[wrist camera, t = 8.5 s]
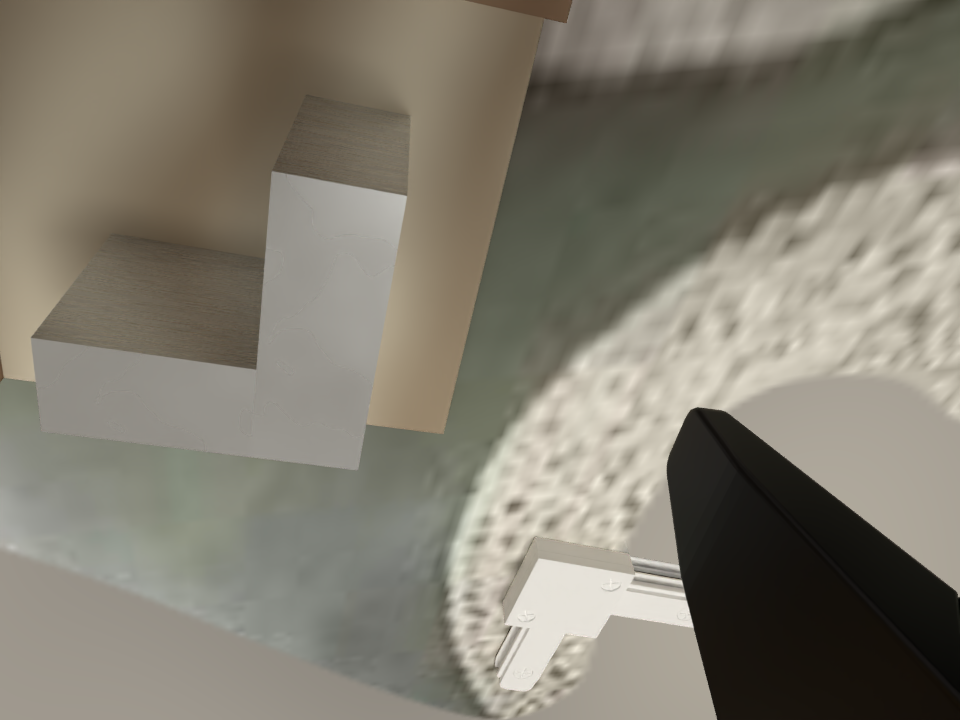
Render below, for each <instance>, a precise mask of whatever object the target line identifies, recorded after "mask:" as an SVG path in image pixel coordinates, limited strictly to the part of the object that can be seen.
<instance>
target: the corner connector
mask: <svg viewBox="0 0 960 720" xmlns="http://www.w3.org/2000/svg"><path fill="white" fill-rule="evenodd" d="M503 612H504V623H505V625H510V626H512V627H511V629H510V631H509V633H508V635H507V636H506V638H505V640H504V642H503V644H502V646H501V648H500V650H499V652H498V654H497V656H496V658H495V667H498V671H497V677H499V682H500V687H501V688H503V689H508V690H516V691H528V690H530V689H531V688H532V687H533V686H534V684H535V682H537V681H538V680H539V678H540V676H541V674H542V673H543V671H544V669H545V668H546V666H547V664H548V663H549V661H550V659H551V657H552V656H553V654H554V652H555V651H556V649H557V647H558V646H559V644H560V642H561V640H562V639H563V637H564V635H565V634H569V635H576V636H583V637H589V638H597V636H598V635H599V633H600V631H601V630H602V628H603V627H604V625H605V623H606V622H607V620H608V618H609V617H610V615H617V616H623V617H629V618H635V619H641V620H648V621H655V622H660V623H666V624H673V625H679V626H686V627H691V628H694V627H693V623H692V619H691V615H690V611H689V608H688V604H687V600H686V596H685V591H684V587H683V583H682V578H681V572H680V566H679V564H673V563H668V562H662V561H657V560H651V559H646V558H640V557H635V556H630V555H629V552H628V548H627V545H625V546H624V547H623V548H622V550H621V552H618V551H612V550H607V549H601V548H596V547H590V546H585V545H579V544H574V543H568V542H563V541H557V540H552V539H546V538H541V537H535V538H534V540H533V542H532V544H531V546H530V548H529V550H528V552H527V554H526V556H525V558H524V560H523V562H522V564H521V566H520V568H519V570H518V572H517V574H516V576H515V578H514V580H513V582H512V584H511V586H510V588H509V590H508V592H507V594H506V596H505V598H504V600H503Z"/></svg>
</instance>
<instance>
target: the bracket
mask: <svg viewBox="0 0 960 720" xmlns="http://www.w3.org/2000/svg"><path fill="white" fill-rule="evenodd" d="M410 124H411V116H409V115H404V114H399V113H394V112H389V111H384V110H380V109H375V108H370V107H365V106H360V105H355V104H350V103H345V102H340V101H335V100H330V99H325V98H321V97H316V96H311V95H306V96H305V98H304V100H303V102H302V105H301V107H300V109H299V111H298V114H297V116H296V118H295V120H294V122H293V125H292V127H291V129H290V131H289V134H288V136H287V138H286V140H285V143H284V145H283V147H282V149H281V151H280V154H279V156H278V158H277V160H276V163H275V165H274V167H273V169H272V174H271V187H270V200H269V213H268V226H267V239H266V252H265V259H264V258H258V257H252V256H246V255H240V254H234V253H228V252H222V251H216V250H210V249H204V248H198V247H192V246H186V245H180V244H174V243H168V242H162V241H156V240H150V239H144V238H138V237H132V236H126V235H120V234H114V233H112V234H111V235H110V236H109V238H108V239H107V240H106V241H105V243H104V244H103V245H102V247H101V248H100V249H99V250H98V252H97V253H96V254H95V256H94V257H93V258H92V259H91V261H90V262H89V263H88V265H87V266H86V267H85V268H84V270H83V271H82V272H81V274H80V275H79V276H78V277H77V279H76V280H75V281H74V283H73V284H72V285H71V286H70V288H69V289H68V290H67V292H66V293H65V294H64V295H63V297H62V298H61V299H60V301H59V302H58V303H57V304H56V306H55V307H54V308H53V310H52V311H51V312H50V313H49V315H48V316H47V317H46V319H45V320H44V321H43V322H42V324H41V325H40V326H39V328H38V329H37V330H36V332H35V333H34V334H33V335H32V337H31V345H32V354H33V363H34V372H35V380H36V389H37V398H38V407H39V416H40V425H41V431H42V432H50V433H58V434H66V435H74V436H83V437H91V438H99V439H107V440H115V441H123V442H131V443H140V444H148V445H156V446H164V447H172V448H180V449H188V450H197V451H205V452H213V453H221V454H229V455H237V456H245V457H253V458H262V459H270V460H278V461H286V462H294V463H302V464H310V465H319V466H327V467H335V468H343V469H351V470H358V466H359V461H360V455H361V450H362V444H363V439H364V433H365V428H366V422H367V417H368V411H369V405H370V400H371V394H372V389H373V383H374V378H375V372H376V367H377V361H378V355H379V350H380V344H381V339H382V333H383V328H384V322H385V317H386V311H387V306H388V300H389V294H390V289H391V283H392V278H393V272H394V267H395V261H396V256H397V250H398V244H399V239H400V233H401V228H402V222H403V217H404V211H405V206H406V200H407V190H408V168H409V146H410Z"/></svg>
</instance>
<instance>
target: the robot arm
mask: <svg viewBox="0 0 960 720" xmlns="http://www.w3.org/2000/svg"><path fill="white" fill-rule="evenodd" d="M667 480H668V487H669V493H670V501H671V509H672V516H673V523H674V530H675V538H676V545H677V553H678V559H679V566H680V572H681V578H682V583H683V587H684V591H685V596H686V600H687V604H688V608H689V611H690V615H691V619H692V623H693V627H694V631H695V635H696V639H697V642H698V646H699V650H700V654H701V658H702V662H703V666H704V670H705V674H706V677H707V681H708V685H709V689H710V693H711V697H712V700H713V705H714V708H715V712H716V716H717V720H960V597H958V594H957V592H956V591H955V590H954V589H953V588H951V587H950V586H948V585H947V584H946V583H945V582H944V581H942V580H941V579H940V578H938V577H937V576H936V575H935V574H933V573H932V572H931V571H929V570H928V569H927V568H925V567H924V566H923V565H922V564H921V563H919V562H918V561H917V560H915V559H914V558H913V557H911V556H910V555H909V554H908V553H906V552H905V551H904V550H902V549H901V548H900V547H899V546H897V545H896V544H895V543H894V542H892V541H891V540H890V539H888V538H887V537H886V536H884V535H883V534H882V533H881V532H879V531H878V530H877V529H875V528H874V527H873V526H872V525H870V524H869V523H868V522H867V521H865V520H864V519H863V518H861V517H860V516H859V515H858V514H856V513H855V512H854V511H852V510H851V509H850V508H849V507H847V506H846V505H845V504H844V503H842V502H841V501H840V500H838V499H837V498H836V497H835V496H833V495H832V494H831V493H829V492H828V491H827V490H826V489H824V488H823V487H821V486H820V485H819V484H818V483H816V482H815V481H814V480H812V478H810V477H809V476H808V475H806V474H805V473H804V472H802V471H801V470H800V469H799V468H797V467H796V466H795V465H793V464H792V463H791V462H790V461H788V460H787V459H786V458H785V457H783V456H782V455H781V454H780V453H778V452H777V451H776V450H774V449H773V448H772V447H771V446H769V445H768V444H767V443H765V442H764V441H763V440H762V439H760V438H759V437H758V436H756V435H755V434H754V433H753V432H751V431H750V430H749V429H747V428H746V427H745V426H744V425H742V424H741V423H740V422H739V421H737V420H736V419H734V418H733V417H732V416H731V415H730V414H728V413H727V412H725V411H722V410H715V409H707V408H699V407H697V408H694V409H692V410H691V411H690V412H689V413H688V415H687V416H686V418H685V420H684V423H683V425H682V427H681V429H680V432H679V434H678V436H677V438H676V441H675V443H674V445H673V448H672V450H671V452H670V455H669V458H668V462H667Z"/></svg>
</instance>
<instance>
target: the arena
mask: <svg viewBox="0 0 960 720" xmlns="http://www.w3.org/2000/svg"><path fill="white" fill-rule="evenodd" d="M571 3H572V0H0V382H1V381H2V379H3V378H9V379H17V380H25V381H33V382H36V380H35V372H34V363H33V354H32V345H31V337H32V335H33V334H34V333H35V332H36V330H37V329H38V328H39V326H40V325H41V324H42V322H43V321H44V320H45V319H46V317H47V316H48V315H49V313H50V312H51V311H52V310H53V308H54V307H55V306H56V304H57V303H58V302H59V301H60V299H61V298H62V297H63V295H64V294H65V293H66V292H67V290H68V289H69V288H70V286H71V285H72V284H73V283H74V281H75V280H76V279H77V277H78V276H79V275H80V274H81V272H82V271H83V270H84V268H85V267H86V266H87V265H88V263H89V262H90V261H91V259H92V258H93V257H94V256H95V254H96V253H97V252H98V250H99V249H100V248H101V247H102V245H103V244H104V243H105V241H106V240H107V239H108V238H109V236H110V235H111V234H112V233H114V234H120V235H126V236H132V237H138V238H144V239H150V240H156V241H162V242H168V243H174V244H180V245H186V246H192V247H198V248H204V249H210V250H216V251H222V252H228V253H234V254H240V255H246V256H252V257H258V258H264V259H265V252H266V239H267V226H268V213H269V200H270V187H271V174H272V169H273V167H274V165H275V163H276V160H277V158H278V156H279V154H280V151H281V149H282V147H283V145H284V143H285V140H286V138H287V136H288V134H289V131H290V129H291V127H292V125H293V122H294V120H295V118H296V116H297V114H298V111H299V109H300V107H301V105H302V102H303V100H304V98H305V96H306V95H311V96H316V97H321V98H325V99H330V100H335V101H340V102H345V103H350V104H355V105H360V106H365V107H370V108H375V109H380V110H384V111H389V112H394V113H399V114H404V115H409V116H411V124H410V146H409V168H408V190H407V200H406V206H405V211H404V217H403V222H402V228H401V233H400V239H399V244H398V250H397V256H396V261H395V267H394V272H393V278H392V283H391V289H390V294H389V300H388V306H387V311H386V317H385V322H384V328H383V333H382V339H381V344H380V350H379V355H378V361H377V367H376V372H375V378H374V383H373V389H372V394H371V400H370V405H369V411H368V417H367V422H366V424H368V425H376V426H384V427H392V428H400V429H408V430H415V431H423V432H431V433H439V434H443V433H444V429H445V425H446V421H447V417H448V413H449V408H450V404H451V400H452V396H453V392H454V388H455V384H456V380H457V375H458V371H459V367H460V363H461V359H462V355H463V351H464V347H465V343H466V338H467V334H468V330H469V326H470V322H471V318H472V314H473V310H474V306H475V301H476V297H477V293H478V289H479V285H480V281H481V277H482V273H483V269H484V264H485V260H486V256H487V252H488V248H489V244H490V240H491V236H492V232H493V227H494V223H495V219H496V215H497V211H498V207H499V203H500V199H501V194H502V190H503V186H504V182H505V178H506V174H507V170H508V166H509V162H510V157H511V153H512V149H513V145H514V141H515V137H516V133H517V129H518V125H519V120H520V116H521V112H522V108H523V104H524V100H525V96H526V92H527V88H528V83H529V79H530V75H531V71H532V67H533V63H534V59H535V55H536V51H537V46H538V42H539V38H540V34H541V30H542V26H543V22H544V18H545V19H550V20H554V21H558V22H563V23H567V19H568V15H569V11H570V7H571Z"/></svg>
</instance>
